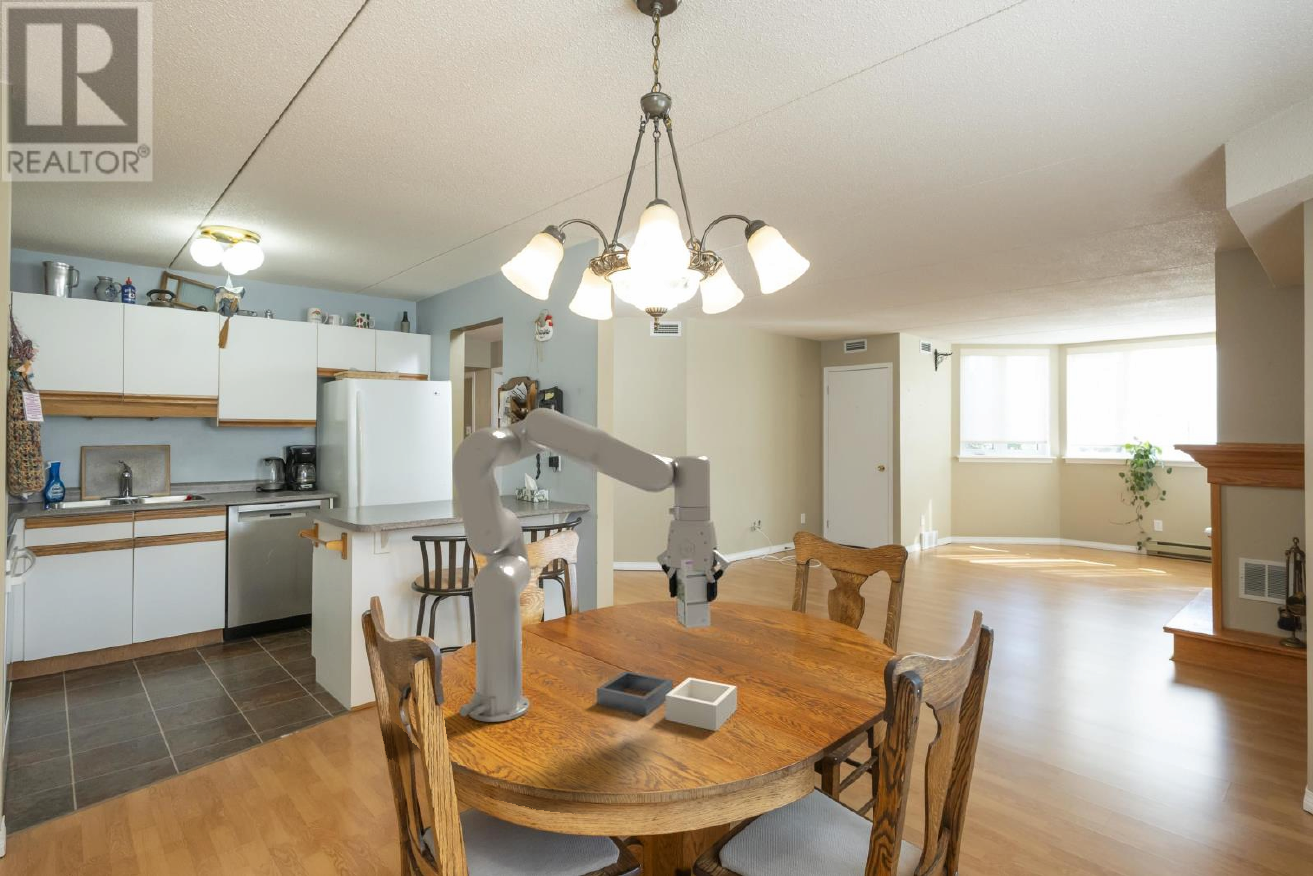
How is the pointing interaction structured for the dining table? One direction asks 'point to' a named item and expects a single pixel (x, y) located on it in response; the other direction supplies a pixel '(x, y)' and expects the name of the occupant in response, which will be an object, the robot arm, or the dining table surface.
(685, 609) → the syrup box
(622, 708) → the gray square frame
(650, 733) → the dining table surface
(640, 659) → the dining table surface
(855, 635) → the dining table surface
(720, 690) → the cradle
